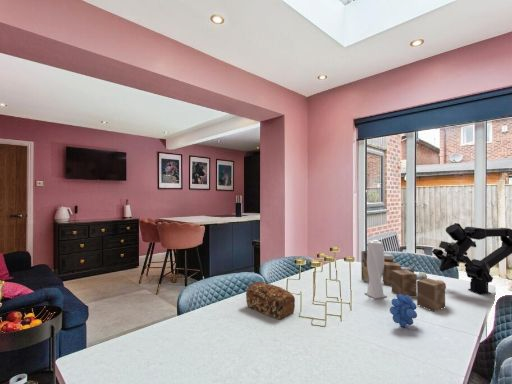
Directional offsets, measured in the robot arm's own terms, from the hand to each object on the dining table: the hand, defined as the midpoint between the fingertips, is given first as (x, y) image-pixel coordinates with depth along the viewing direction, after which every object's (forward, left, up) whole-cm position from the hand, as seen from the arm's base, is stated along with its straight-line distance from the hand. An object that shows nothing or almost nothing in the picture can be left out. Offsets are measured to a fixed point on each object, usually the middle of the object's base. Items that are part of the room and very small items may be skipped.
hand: (440, 270), depth 132 cm
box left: (+14, -17, -11) cm, 25 cm away
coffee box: (+24, -21, -12) cm, 34 cm away
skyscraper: (+33, +1, -12) cm, 35 cm away
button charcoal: (+9, -15, -6) cm, 18 cm away
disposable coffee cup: (+9, -33, -12) cm, 36 cm away
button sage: (+11, -1, -6) cm, 13 cm away
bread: (+84, +12, -12) cm, 86 cm away
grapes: (+38, +31, -12) cm, 50 cm away
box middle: (+18, -1, -11) cm, 21 cm away
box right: (+15, +13, -11) cm, 23 cm away
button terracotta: (+12, +12, -6) cm, 18 cm away
